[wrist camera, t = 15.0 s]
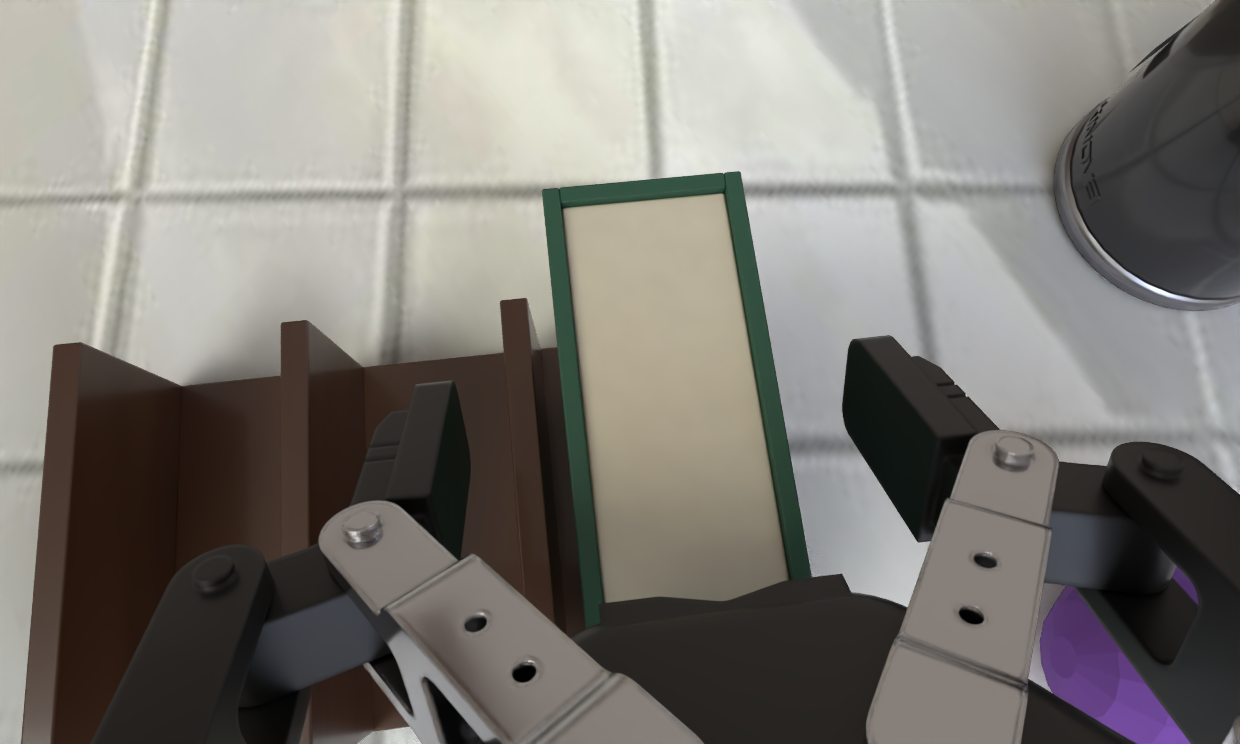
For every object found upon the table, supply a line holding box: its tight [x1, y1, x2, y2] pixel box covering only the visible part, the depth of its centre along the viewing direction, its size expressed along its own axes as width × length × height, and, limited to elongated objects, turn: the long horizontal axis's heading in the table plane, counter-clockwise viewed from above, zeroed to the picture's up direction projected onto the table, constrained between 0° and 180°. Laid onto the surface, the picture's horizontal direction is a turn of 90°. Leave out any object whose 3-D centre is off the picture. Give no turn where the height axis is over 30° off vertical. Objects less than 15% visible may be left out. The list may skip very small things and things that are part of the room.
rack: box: [21, 298, 586, 744], centre depth 23 cm, size 20×12×6 cm, turn 97°
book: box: [542, 171, 812, 628], centre depth 18 cm, size 4×10×14 cm, turn 7°
